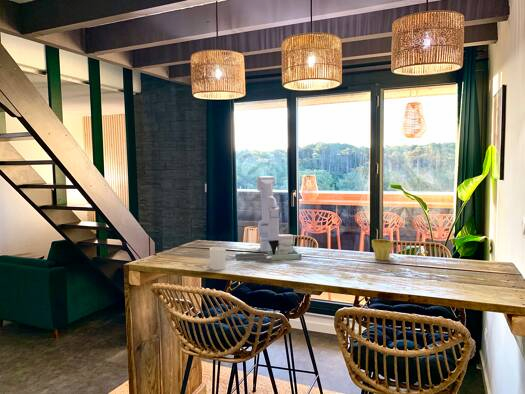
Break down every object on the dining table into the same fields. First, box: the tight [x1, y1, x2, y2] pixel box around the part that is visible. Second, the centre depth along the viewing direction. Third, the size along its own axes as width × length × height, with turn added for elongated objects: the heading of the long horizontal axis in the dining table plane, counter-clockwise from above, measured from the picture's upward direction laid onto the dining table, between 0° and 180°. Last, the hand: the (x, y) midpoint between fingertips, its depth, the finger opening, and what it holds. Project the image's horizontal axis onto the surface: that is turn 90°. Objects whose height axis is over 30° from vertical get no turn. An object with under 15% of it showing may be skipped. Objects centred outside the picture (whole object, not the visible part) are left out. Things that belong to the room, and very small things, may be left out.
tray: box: [267, 248, 302, 261], centre depth 222 cm, size 14×16×2 cm
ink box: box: [276, 234, 294, 255], centre depth 223 cm, size 8×5×12 cm, turn 99°
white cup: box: [209, 246, 226, 271], centre depth 196 cm, size 8×8×10 cm
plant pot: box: [371, 238, 393, 261], centre depth 214 cm, size 10×10×10 cm
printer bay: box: [234, 252, 268, 261], centre depth 219 cm, size 9×16×2 cm, turn 98°
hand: (273, 254), depth 221 cm, fingers closed
